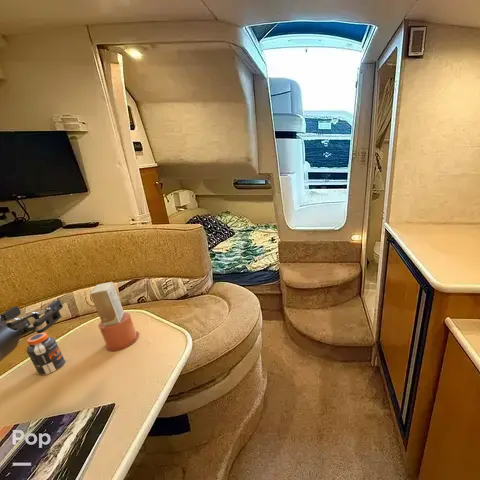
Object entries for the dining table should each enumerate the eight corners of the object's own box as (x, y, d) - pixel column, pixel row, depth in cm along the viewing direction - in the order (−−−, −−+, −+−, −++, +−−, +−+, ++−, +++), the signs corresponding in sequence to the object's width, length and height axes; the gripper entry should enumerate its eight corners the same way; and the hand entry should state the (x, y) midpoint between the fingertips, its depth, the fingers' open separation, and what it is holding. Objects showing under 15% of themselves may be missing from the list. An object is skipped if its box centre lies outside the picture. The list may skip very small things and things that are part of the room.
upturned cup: (99, 354, 84) (90, 331, 81) (114, 335, 93) (105, 314, 90) (132, 348, 86) (123, 326, 83) (143, 330, 94) (136, 309, 91)
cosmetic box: (109, 316, 88) (96, 284, 84) (125, 313, 90) (113, 280, 86) (103, 327, 83) (88, 293, 78) (119, 323, 84) (106, 290, 80)
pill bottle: (60, 371, 78) (44, 339, 75) (34, 378, 76) (16, 346, 72) (69, 357, 84) (54, 327, 80) (45, 363, 82) (28, 333, 78)
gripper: (10, 330, 49) (67, 287, 64) (-88, 346, 46) (-5, 298, 61) (28, 362, 52) (78, 314, 67) (-64, 379, 49) (10, 325, 64)
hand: (38, 306), depth 64 cm, fingers open, 8 cm apart
